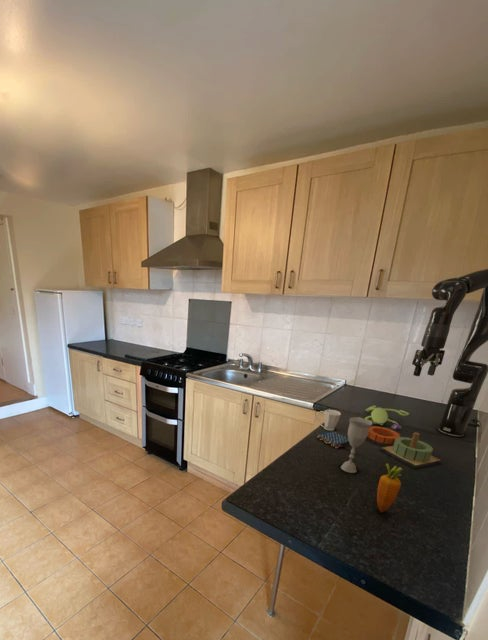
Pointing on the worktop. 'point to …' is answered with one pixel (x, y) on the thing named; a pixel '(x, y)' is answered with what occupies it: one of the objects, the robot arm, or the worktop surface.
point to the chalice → (356, 439)
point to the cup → (330, 419)
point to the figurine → (383, 416)
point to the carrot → (388, 488)
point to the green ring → (412, 449)
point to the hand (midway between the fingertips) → (423, 375)
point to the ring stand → (412, 445)
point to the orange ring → (375, 435)
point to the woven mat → (333, 439)
